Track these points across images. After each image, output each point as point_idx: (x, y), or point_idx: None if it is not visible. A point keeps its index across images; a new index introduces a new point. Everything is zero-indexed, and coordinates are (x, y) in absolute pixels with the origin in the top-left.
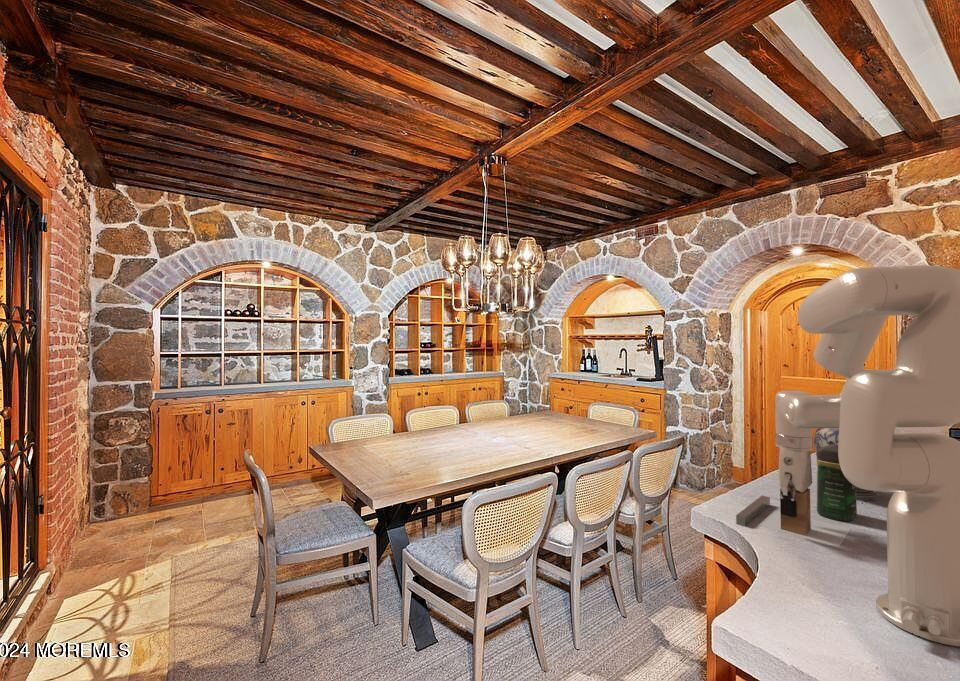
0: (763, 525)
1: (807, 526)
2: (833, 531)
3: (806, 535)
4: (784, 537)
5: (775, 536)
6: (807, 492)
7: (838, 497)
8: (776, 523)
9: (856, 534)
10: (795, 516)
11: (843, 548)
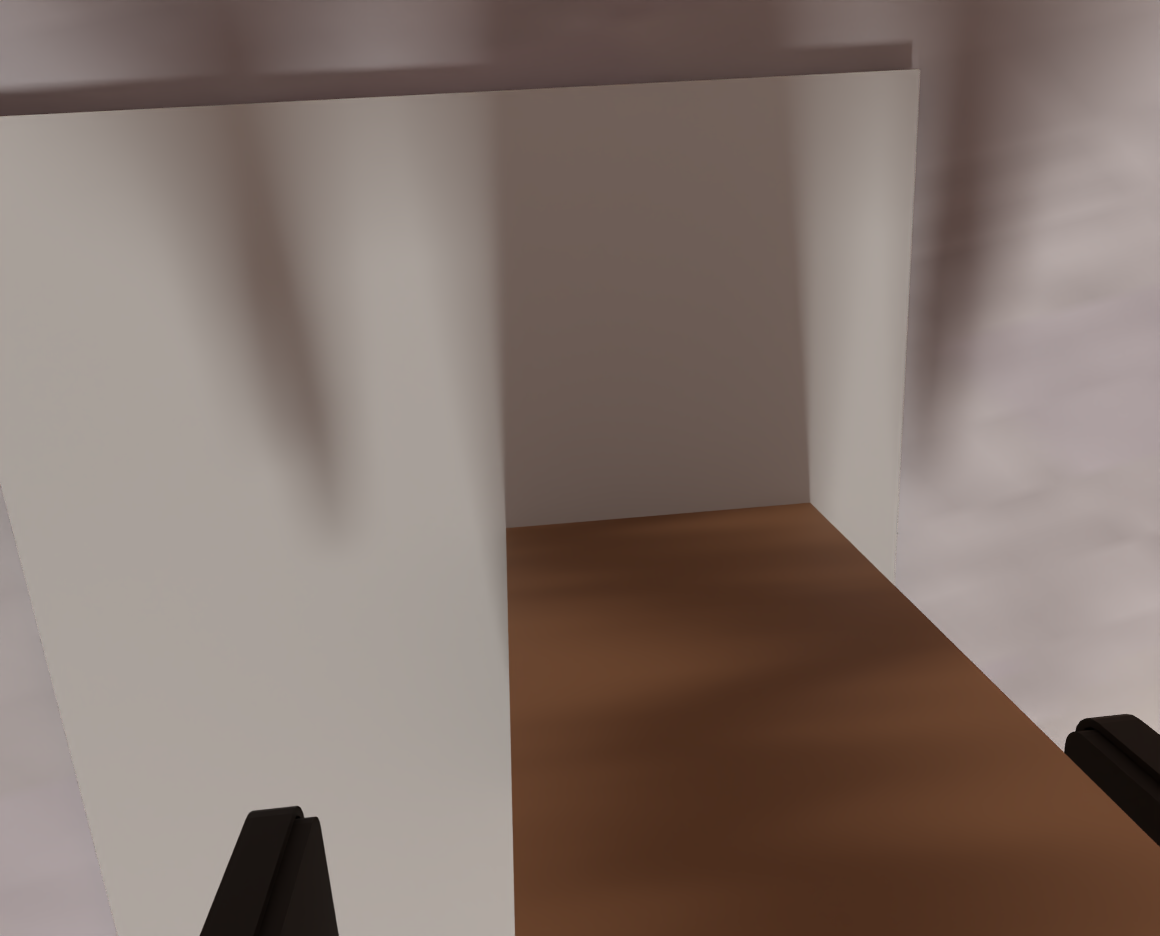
0: None
1: (712, 550)
2: (313, 287)
3: (791, 496)
4: (999, 651)
5: (1039, 723)
6: None
7: None
8: None
9: (65, 7)
10: (1132, 728)
11: (848, 27)
